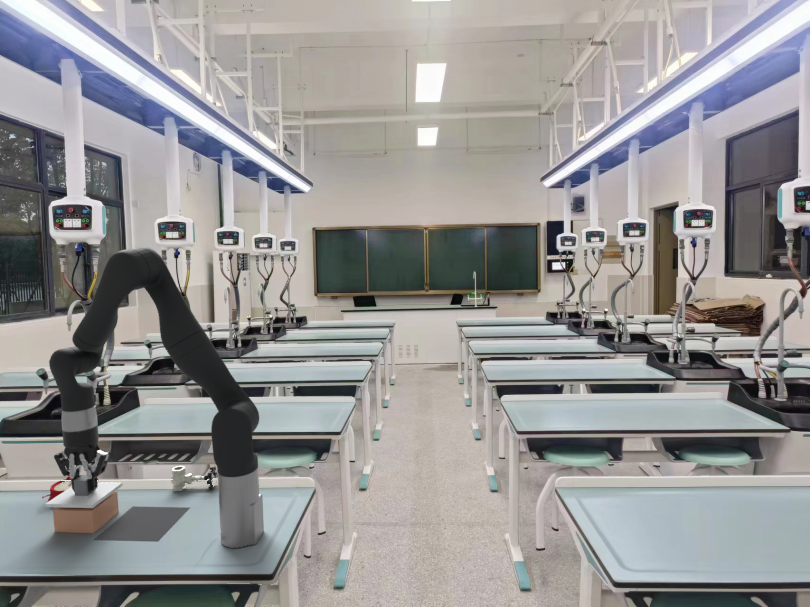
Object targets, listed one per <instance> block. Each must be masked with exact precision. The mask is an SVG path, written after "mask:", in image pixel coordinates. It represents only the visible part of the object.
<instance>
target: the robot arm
mask: <svg viewBox="0 0 810 607" xmlns="http://www.w3.org/2000/svg"><path fill="white" fill-rule="evenodd" d="M140 289H145V290H146V292H147V293H148V295H149V297H150V299H151V300H152V301H153V304H154V305H155V307H156V310H157V313H158V321H159V322H158V324H159V332H160V334H159V335H160V340H161V343H162V345H163V348H165V350H166V352H167V354H168V355H169V357H170V359H171V360H172V362H174V365H175V366H176V367H177V368H178V369H179V371H180V372H182V374H184V376H186V377H188V379H190V380H192V382H194V383H196V384H197V385H198V386H200V387H201V388H202V389H203V390H204V391H205V392H206V394H207V395H208V396H209V398H210V399H211V402H213V404H214V405H215V408H216V409H217V412H216V413H215V415H214V416H213V419H212V421H211V430H210V432H211V442H212V443H211V444H212V446H211V447H212V455H213V461H214V464H215V465H216V472H217V488H218V490H217V491H218V507H219V508H218V509H219V510H218V511H219V528H220V530H219V531H220V533H219V534H220V542H221V544H222V545H223V546H225V547H226V548H230V549H231V548H233V549H237V548H238V549H239V547H240V548H244V546H245V547H248V546H250V545H252V546H253V545H257V543H258V541H259V539H260V538H261V536H263V534H264V531H265V527H264V526H265V525H264V502H263V500H264V499H263V494H260V484H259V482H260V480H259V458H258V455H257V453H255V452H254V441H253V434H254V432H255V430H256V429H257V427H258V425H259V423H260V413H259V410H258V407H257V406H256V404H255V403H254V402H253V401H252V398H250V397H249V395H248V394H247V393H246V392H245V391H244V389H243V388H242V387H241V386H240V384H239V383H238V381H237V380H236V379H235V378H234V376H233V374H231V372H230V370H229V368H228V367H227V365H226V363H225V362H224V360H223V359H222V357H221V356H220V354H219V352H218V351H217V349H216V348H215V346H214V344H213V342H212V340H211V339H210V338H209V336H208V335H207V332H206V331H205V330H204V329H203V326H202V325H201V324H200V323H199V320H198V319H197V318H196V316H195V315H194V313H193V311H192V310H191V308H190V306H189V305H188V304H187V302H186V300H185V299H184V297H183V295H182V293H181V292H180V290H179V288H178V286H177V284H176V282H175V280H174V278H173V276H172V274H171V271H170V270H169V268H168V266H167V264H166V263H165V260H164V258H163V257H162V256H161V255H160V254H159V253H158V252H157V251H156V250H155V249H153V248H151V247H148V246H138V247H134V248H129V249H122V250H119V251H117V252H115V253H113V254H112V255H111V256H110V257H109V259H108V260H107V262H106V264H105V267H104V269H103V272H102V274H101V278H100V281H99V282H98V284H97V288H96V291H95V293H94V296H93V298H92V301H91V304H90V306H89V307H88V310H87V311H86V312H85V315H84V316H83V318H82V320H81V321H80V323H79V324H78V326H77V328H76V329H75V330H74V333H73V334H72V339H71V340H72V343H73V344H74V346H70V347H69V346H68V347H64V348H59V349H57V350H55V351H53V353H52V354H51V355H50V359H49V370H50V373H51V374H52V376H53V379H54V382H55V383H56V387H57V389H58V391H59V394H60V403H61V418H60V419H61V429H62V430H61V431H62V444H63V447H64V450H62V451H59V452H58V453H56V454H54V456H53V458H54V460H55V462H56V465H57V466H58V468H59V471H60V472H61V475H62V476H64V477H70V478H71V482H72V489H73V490H74V480H75V479H77V478H79V477H80V476H81V475H82V474H81V471H82V469H83V471H85V475H87V477H88V479H87V481H88V492H89V493H92V492H93V491H95V490H96V488H97V487H98V482H97V478H98V477H99V476H100V475H102V474H103V473H104V472H105V471H106V469H107V466H108V463H109V460H110V457H111V454H112V453H111V452H110V451H106V452H104V451H102V450H101V449H100V447H99V440H100V439H99V438H100V437H99V425H98V413H97V409H96V400H95V388H94V385H93V384H92V383H91V382H90V383H89V382H83V381H82V382H78V380H77V379H76V376H77V375H78V376H79V375H81V374H86V373H90V372H92V371H95V369H96V368H97V367H98V366H99V365H100V363H101V361H102V356H103V352H104V348H105V345H106V343H107V342H108V340H109V339H110V337H111V336H112V334H113V333H114V331H115V329H116V328H117V325H118V321H119V320H118V319H119V308H120V306H121V304H122V302H123V301H124V300H125V299H126V297H128V296H129V294H131V293H132V292H133V291H137V290H140ZM97 461H98V462H97ZM74 492H75V490H74ZM247 545H248V546H247Z"/></svg>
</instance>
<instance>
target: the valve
mask: <svg viewBox="0 0 810 607" xmlns="http://www.w3.org/2000/svg"><path fill="white" fill-rule="evenodd" d="M209 470H210V471H208V472H207V474H204V475H202V474H200V475H199V474H198V475H194V474H193V473H191V472H190V473H188V474H186V473H187V472H186V467H185V466H184V465H178V466H175V467H172V468H171V479H173V480H171V479H170V482H171V485H172V490H173V489H174V490H173V492H182V491H184V490H183V487H184V486H185V485H186V486H187V485H192V484H193V483H192V482H194V483H195V482H197V483H198V482H201V481H198V480H202V481H204V480H207V479H209V480H208V481H207V483H206V484H207V485H208V484H210V485H208V486H207V488H208V490H213V489H214V488H213V485H212V482H213V481H211V480H212V479H213V478H216V477H218V472H217V466H209ZM216 479H217V478H216ZM195 480H196V481H195ZM185 483H186V484H185ZM212 488H213V489H212Z"/></svg>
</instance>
